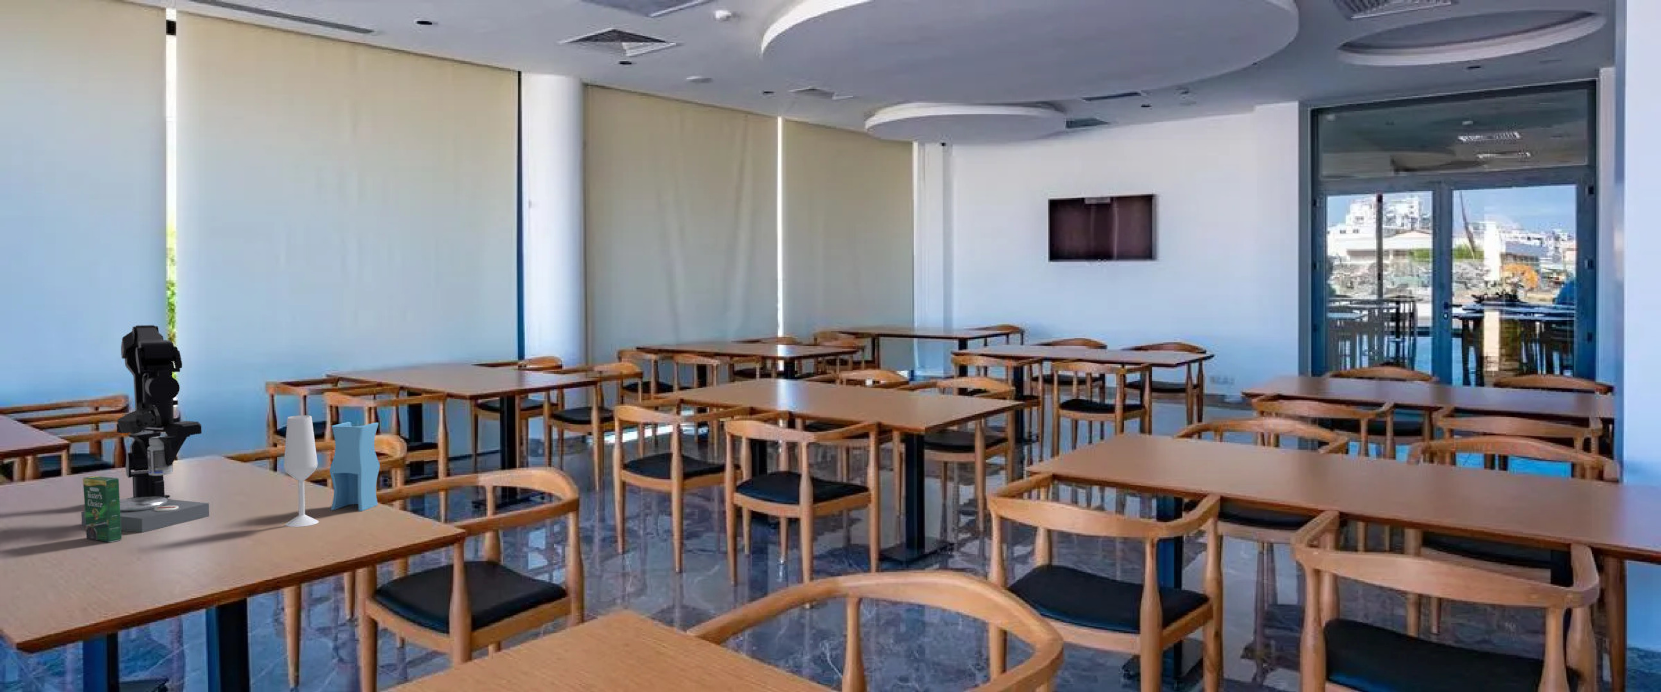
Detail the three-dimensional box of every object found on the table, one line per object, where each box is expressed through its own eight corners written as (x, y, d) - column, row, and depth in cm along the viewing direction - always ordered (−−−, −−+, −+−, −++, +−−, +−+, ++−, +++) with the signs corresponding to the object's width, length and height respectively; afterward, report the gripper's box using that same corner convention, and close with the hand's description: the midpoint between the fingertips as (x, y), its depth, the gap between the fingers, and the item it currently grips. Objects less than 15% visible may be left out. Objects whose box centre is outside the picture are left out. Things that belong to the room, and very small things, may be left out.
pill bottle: (178, 472, 230) (176, 436, 230) (163, 476, 226) (161, 439, 225) (158, 471, 231) (157, 435, 230) (143, 475, 226) (141, 438, 226)
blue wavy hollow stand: (380, 503, 244) (378, 422, 243) (362, 511, 236) (360, 427, 235) (349, 502, 245) (348, 421, 243) (330, 509, 237) (328, 426, 236)
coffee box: (84, 538, 209) (81, 476, 208) (98, 535, 212) (96, 474, 211) (107, 543, 206) (105, 480, 205) (122, 540, 208) (120, 477, 207)
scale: (81, 525, 220) (81, 509, 220) (151, 509, 235) (150, 494, 235) (142, 532, 214) (141, 515, 214) (209, 515, 230) (208, 500, 229)
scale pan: (96, 509, 222) (95, 504, 222) (143, 499, 232) (143, 495, 232) (132, 513, 218) (132, 508, 218) (179, 502, 229) (179, 498, 229)
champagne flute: (307, 518, 229) (305, 414, 227) (325, 522, 225) (322, 416, 224) (278, 524, 223) (276, 417, 221) (296, 528, 219) (293, 419, 218)
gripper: (92, 399, 222) (94, 468, 223) (157, 402, 217) (159, 473, 218) (139, 393, 233) (141, 460, 234) (202, 397, 228) (204, 464, 229)
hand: (160, 464), depth 228 cm, fingers closed on pill bottle, 5 cm apart
